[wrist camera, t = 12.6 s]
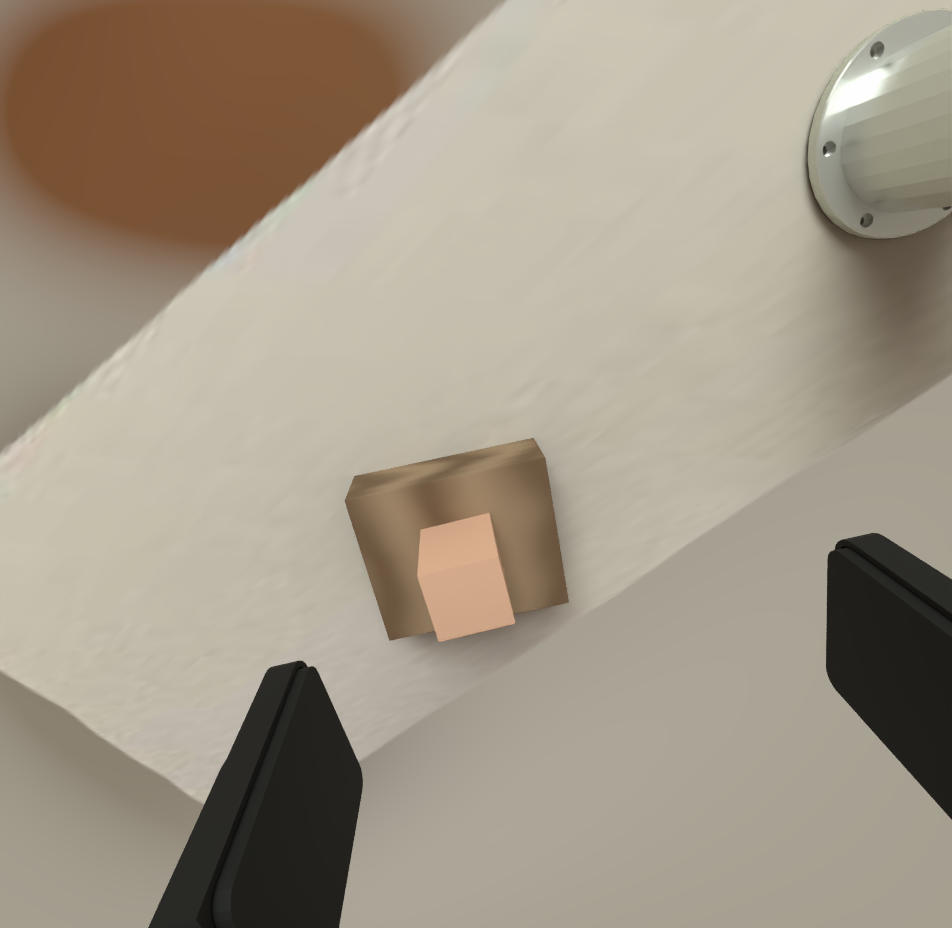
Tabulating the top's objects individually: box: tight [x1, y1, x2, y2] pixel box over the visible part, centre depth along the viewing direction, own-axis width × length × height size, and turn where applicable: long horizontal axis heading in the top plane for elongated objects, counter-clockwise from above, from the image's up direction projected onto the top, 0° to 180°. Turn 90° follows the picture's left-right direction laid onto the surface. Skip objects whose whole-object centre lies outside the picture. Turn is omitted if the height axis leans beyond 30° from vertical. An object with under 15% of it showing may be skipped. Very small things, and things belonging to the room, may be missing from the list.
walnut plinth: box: [345, 438, 569, 640], centre depth 40 cm, size 14×12×5 cm
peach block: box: [417, 513, 516, 642], centre depth 35 cm, size 5×5×6 cm
